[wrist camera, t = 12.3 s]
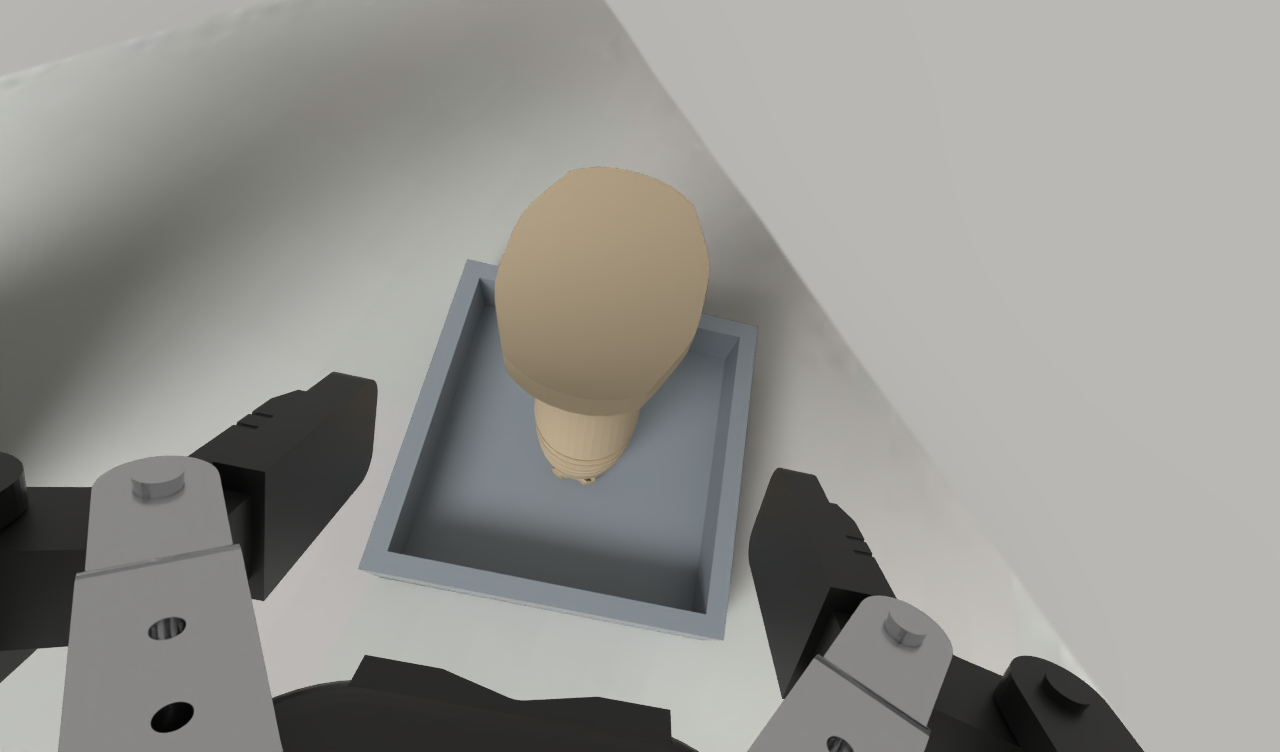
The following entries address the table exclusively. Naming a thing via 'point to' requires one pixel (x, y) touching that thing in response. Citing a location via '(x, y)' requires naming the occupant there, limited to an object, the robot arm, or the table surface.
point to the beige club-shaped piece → (598, 308)
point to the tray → (569, 486)
